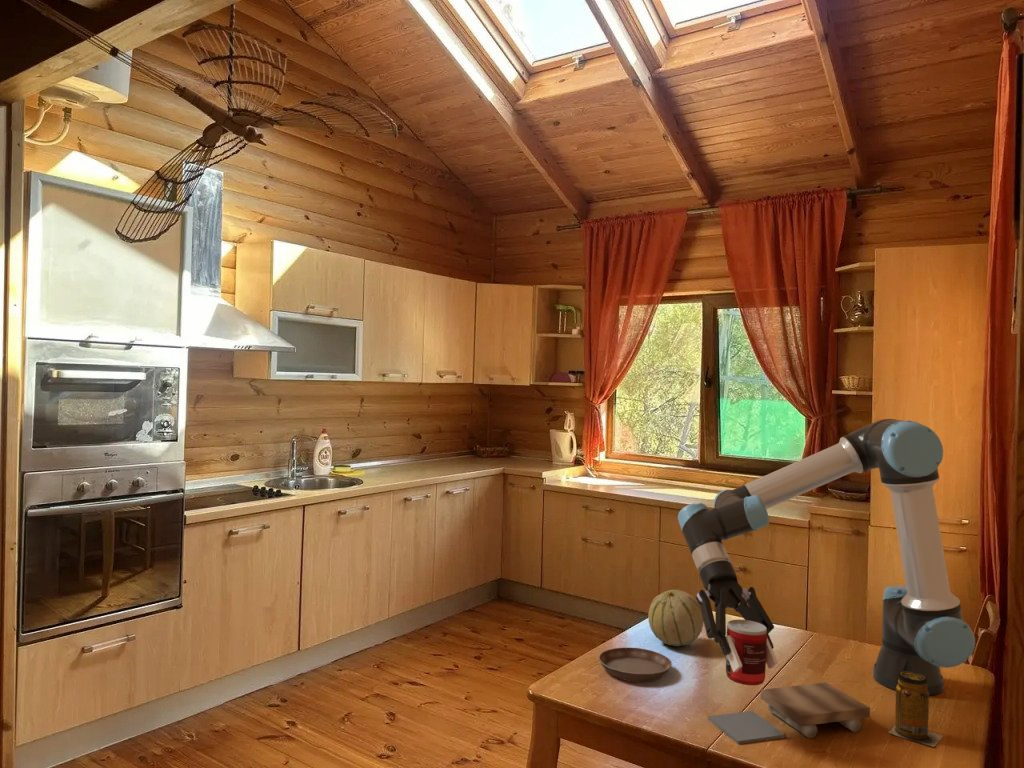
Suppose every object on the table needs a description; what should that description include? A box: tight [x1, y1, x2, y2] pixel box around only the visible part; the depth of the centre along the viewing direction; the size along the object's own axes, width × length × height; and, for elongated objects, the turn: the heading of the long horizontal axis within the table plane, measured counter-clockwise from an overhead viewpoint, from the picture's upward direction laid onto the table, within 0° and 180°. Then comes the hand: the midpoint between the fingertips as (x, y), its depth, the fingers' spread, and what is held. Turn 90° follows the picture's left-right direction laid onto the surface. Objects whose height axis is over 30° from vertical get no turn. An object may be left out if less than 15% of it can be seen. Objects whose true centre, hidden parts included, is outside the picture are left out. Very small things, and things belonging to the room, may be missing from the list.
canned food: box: [725, 619, 767, 686], centre depth 153 cm, size 8×8×11 cm
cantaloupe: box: [647, 589, 704, 647], centre depth 201 cm, size 15×15×15 cm
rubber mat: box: [707, 710, 786, 745], centre depth 153 cm, size 11×11×1 cm
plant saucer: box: [598, 647, 673, 683], centre depth 182 cm, size 18×18×3 cm
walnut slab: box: [760, 682, 871, 739], centre depth 157 cm, size 17×13×5 cm
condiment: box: [887, 672, 944, 748], centre depth 152 cm, size 7×8×12 cm
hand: (755, 667), depth 150 cm, fingers closed on canned food, 8 cm apart
